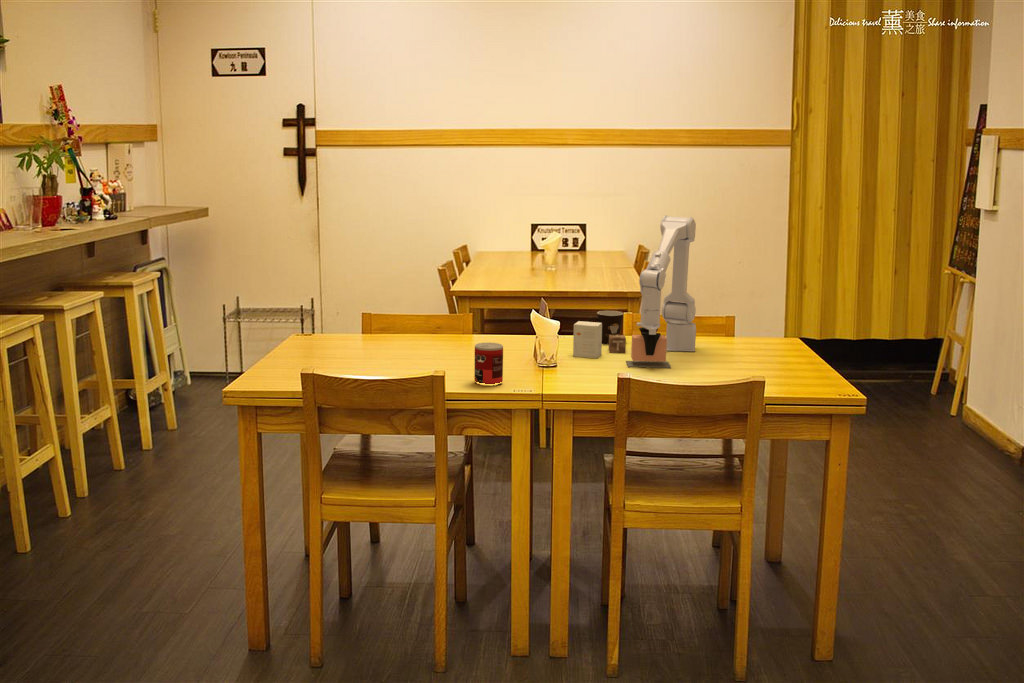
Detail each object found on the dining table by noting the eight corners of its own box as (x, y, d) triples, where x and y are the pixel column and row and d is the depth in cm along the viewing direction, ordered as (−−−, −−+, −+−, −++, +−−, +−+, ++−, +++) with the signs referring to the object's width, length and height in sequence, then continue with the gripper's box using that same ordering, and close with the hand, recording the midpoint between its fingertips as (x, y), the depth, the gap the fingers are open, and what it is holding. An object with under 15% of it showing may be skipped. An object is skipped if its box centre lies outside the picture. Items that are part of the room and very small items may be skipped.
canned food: (473, 379, 297) (474, 342, 294) (501, 379, 297) (502, 342, 295) (475, 386, 289) (475, 348, 287) (503, 386, 290) (504, 348, 287)
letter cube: (623, 350, 337) (624, 334, 336) (625, 353, 332) (626, 337, 331) (608, 349, 337) (609, 334, 336) (609, 353, 332) (610, 337, 331)
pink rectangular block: (663, 357, 319) (664, 335, 318) (665, 361, 314) (666, 338, 313) (631, 356, 319) (632, 334, 318) (632, 360, 314) (633, 338, 313)
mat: (667, 362, 321) (667, 361, 320) (671, 368, 314) (671, 366, 314) (625, 361, 321) (625, 360, 321) (628, 367, 314) (628, 366, 314)
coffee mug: (621, 340, 351) (623, 311, 349) (622, 345, 343) (623, 316, 341) (587, 338, 352) (588, 310, 350) (586, 344, 344) (587, 314, 342)
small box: (601, 355, 329) (602, 322, 327) (597, 358, 324) (598, 325, 322) (577, 352, 332) (578, 320, 330) (572, 356, 327) (573, 323, 324)
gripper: (635, 304, 321) (633, 347, 323) (640, 313, 306) (638, 358, 309) (657, 304, 320) (655, 347, 323) (664, 313, 306) (661, 358, 309)
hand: (648, 353), depth 316 cm, fingers closed on pink rectangular block, 5 cm apart
